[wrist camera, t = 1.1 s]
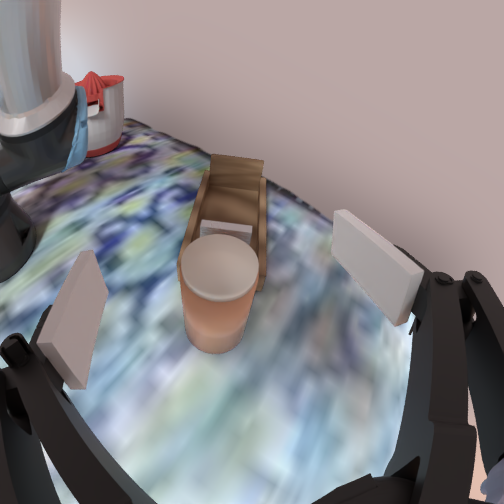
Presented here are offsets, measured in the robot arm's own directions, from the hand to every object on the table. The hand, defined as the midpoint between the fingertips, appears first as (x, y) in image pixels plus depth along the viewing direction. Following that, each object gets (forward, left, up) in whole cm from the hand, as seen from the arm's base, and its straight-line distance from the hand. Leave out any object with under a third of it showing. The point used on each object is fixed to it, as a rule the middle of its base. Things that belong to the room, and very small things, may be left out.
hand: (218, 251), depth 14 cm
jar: (-3, +5, -20) cm, 20 cm away
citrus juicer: (-53, +23, -20) cm, 61 cm away
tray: (-11, +20, -20) cm, 30 cm away
